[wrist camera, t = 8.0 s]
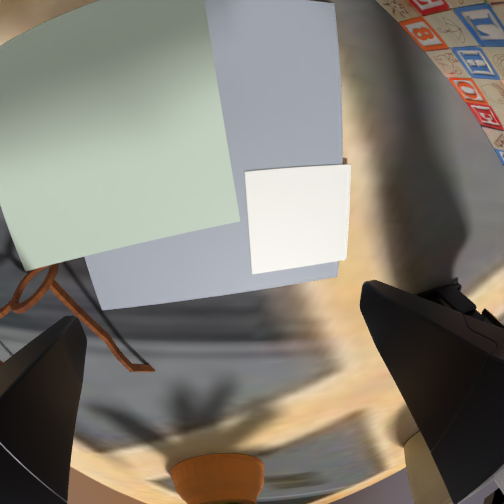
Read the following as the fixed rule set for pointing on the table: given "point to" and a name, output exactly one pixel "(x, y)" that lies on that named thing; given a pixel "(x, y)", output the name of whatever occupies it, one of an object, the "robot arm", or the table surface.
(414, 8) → the stack of blocks
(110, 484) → the table surface
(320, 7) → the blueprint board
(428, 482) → the plant pot
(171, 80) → the sage block
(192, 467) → the decorative plant
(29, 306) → the glasses
